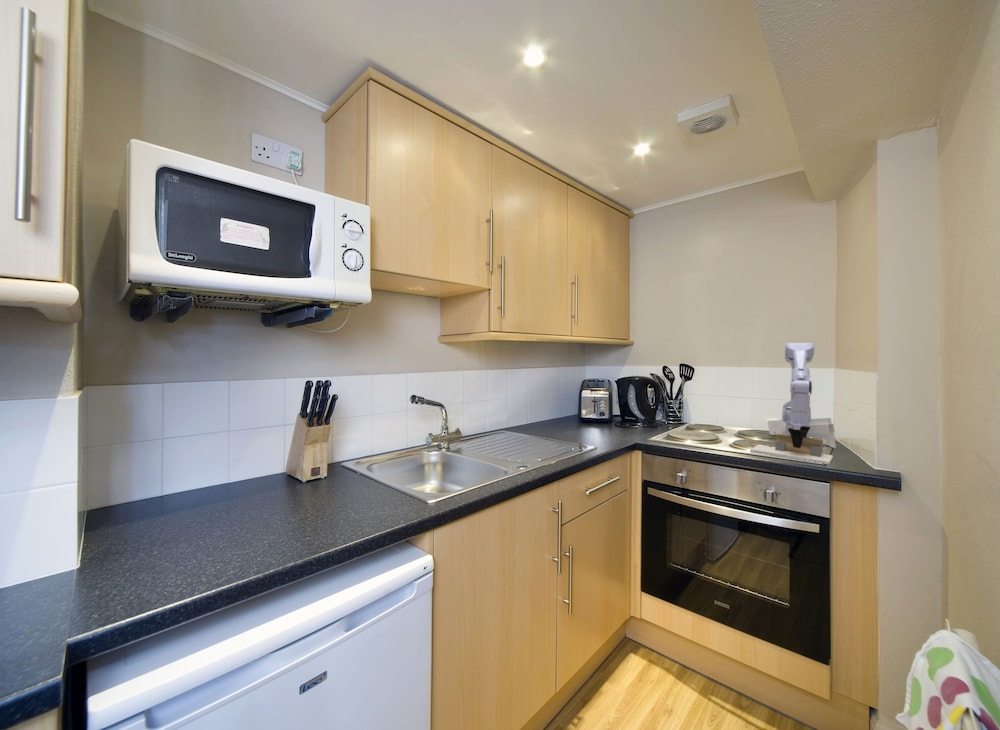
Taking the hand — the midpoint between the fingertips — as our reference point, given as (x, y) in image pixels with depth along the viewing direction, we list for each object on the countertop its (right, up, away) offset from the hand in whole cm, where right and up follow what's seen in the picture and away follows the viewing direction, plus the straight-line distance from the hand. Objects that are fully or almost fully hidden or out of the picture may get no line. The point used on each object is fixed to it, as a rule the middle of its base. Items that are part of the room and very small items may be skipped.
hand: (798, 446), depth 154 cm
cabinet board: (-3, -3, 0) cm, 5 cm away
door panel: (0, -2, 0) cm, 2 cm away
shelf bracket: (+20, -3, +26) cm, 33 cm away
